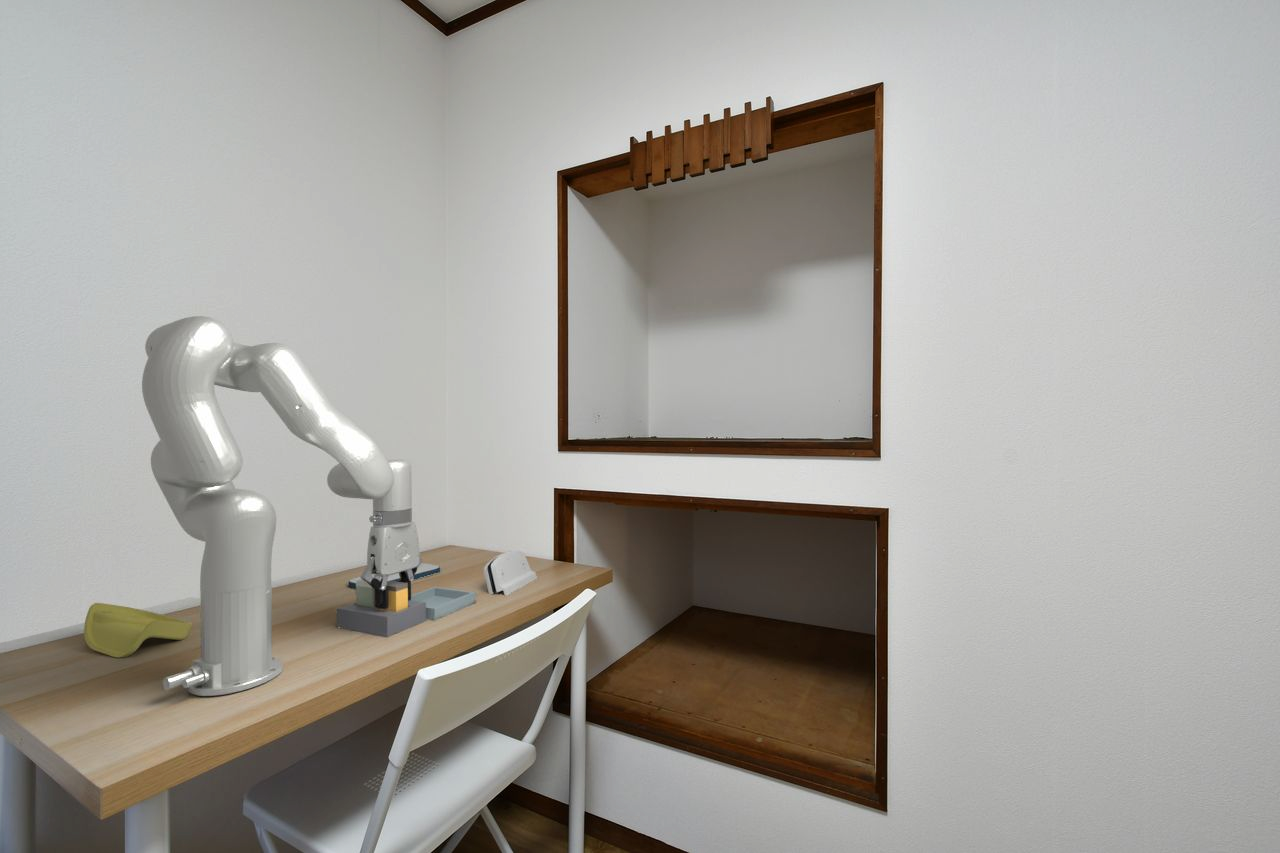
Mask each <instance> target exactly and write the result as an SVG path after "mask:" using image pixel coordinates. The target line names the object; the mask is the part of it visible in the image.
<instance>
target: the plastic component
mask: <svg viewBox="0 0 1280 853" xmlns="http://www.w3.org/2000/svg"><path fill="white" fill-rule="evenodd" d="M193 625H194V623H192V622H189V621H184V620H181V619H178V618H176V617H175V618H174V617H171V616H167V615H164V614H161V613H160V614H159V613H156V612H153V611H149V610H144V609H140V608H135V607H130V606H129V607H128V606H124V605H116V604H109V603H103V602H101V603H100V602H95V603H92V604H91V605H90V606H89V608H88V611H87V613H86V617H85V620H84V626H83V636H84V640H85V642H86V645H87V646H88V647H89V648H90V649H92V650H93V651H96V652H98V653H101V654H105V655H108V656H111V657H114V658H117V659H118V658H119V659H121V658H127V657H129V656H130V655H133V653H134V654H135V652H136V651H137V650H138V649H139V648H140V646H141V645H142V644H143V642H145V641H146V640H147V639H152V638H155V639H156V638H157V639H165V640H166V639H167V640H175V641H177V640H178V641H183V640H185V639H186V638H187V637H188V635H189V633H190V630H191V629H192V627H193Z"/></svg>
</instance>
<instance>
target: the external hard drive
mask: <svg viewBox="0 0 1280 853" xmlns="http://www.w3.org/2000/svg"><path fill="white" fill-rule="evenodd" d="M438 572H439V573H440V572H441V567H440V565H437V564H433V563H432V564H431V563H426V562H422V563H421V565H420V566H419V567H418V568H417V571H416V573H415V574H414V579H416V580H418V579H417V578H420V577H424V576H427V575H431V574H434V573H438ZM439 573H438V574H439ZM372 576H373V577H374V574H372ZM431 576H432V575H431ZM427 577H428V576H427ZM381 578H382V577H380V579H381ZM424 578H425V577H424ZM420 579H421V578H420ZM358 580H361V576H357V577H353V578H350V579H349V580H348V583H347V584H348V588H350V589H353V588H354V589H353V590H356V581H358ZM399 580H401V579H400V576H399V573H396V574H393V575H389V576H388V580H387V582H388V581H396V582H398V581H399Z"/></svg>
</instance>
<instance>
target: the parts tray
mask: <svg viewBox="0 0 1280 853" xmlns="http://www.w3.org/2000/svg"><path fill="white" fill-rule="evenodd" d="M476 593H477V592H475V591H468V590H462V589H461V590H459V589H452V588H448V587H447V588H446V587H441V586H440V587H438V586H434V587H430V588H427V589H424V590H422V591H421V590H420V591H419V592H415V593H414V594H411V600H413V601H420V602H426V620H430V619H433V620H432V621H436V620H435V619H437V620H438V618H439V619H441V618H443V616H444V617H446V616H448V615H451V614H453V613H454V612H457V610H458V611H460V610H462V609H465V608H467V607H470V606H471V605H474V604H475V603H477V598H476V597H477V594H476ZM464 607H465V608H464ZM450 613H451V614H450ZM445 615H446V616H445ZM440 617H441V618H440Z"/></svg>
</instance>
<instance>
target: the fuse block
mask: <svg viewBox="0 0 1280 853" xmlns="http://www.w3.org/2000/svg"><path fill="white" fill-rule="evenodd" d="M380 582H381V579H380ZM335 612H336V628H338V627H340V628H339V629H343V628H345V629H344V630H348V629H349V631H354V632H360V633H364V634H369V635H374V636H380V637H384V636H385V638H389V637H391V636H393V634H394V635H396V634H398V633H400V632H403V631H405V630H408V629H410V628H413V627H415V626H417V624H418V625H420V624H422V623H425V622H426V621H427V619H426V602H420V601H413V600H409V601H408V607H407V608H404V609H402V610H399V611H396V612H395V611H389V610H383V609H379V608H376V607H375V589H372V586H370V585H369V584H368V583H367V582H365V581H364V580H362V579H361V580H358V581H356V589H355V602H351V603H349V604H346V605H343V606H339V607H336V611H335ZM424 621H425V622H424ZM419 623H420V624H419ZM412 626H413V627H412Z"/></svg>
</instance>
